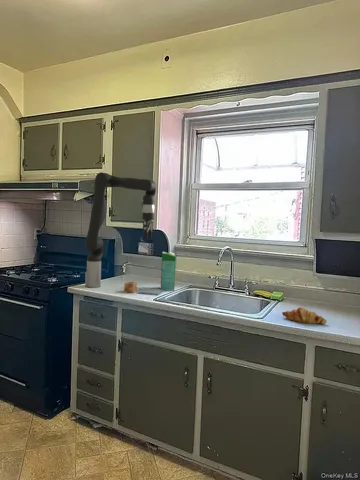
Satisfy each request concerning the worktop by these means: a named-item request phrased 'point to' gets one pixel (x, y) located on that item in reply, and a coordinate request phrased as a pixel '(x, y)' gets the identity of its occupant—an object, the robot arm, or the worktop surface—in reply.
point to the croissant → (304, 316)
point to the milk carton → (168, 271)
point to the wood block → (130, 287)
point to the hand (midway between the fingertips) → (147, 238)
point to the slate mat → (150, 291)
